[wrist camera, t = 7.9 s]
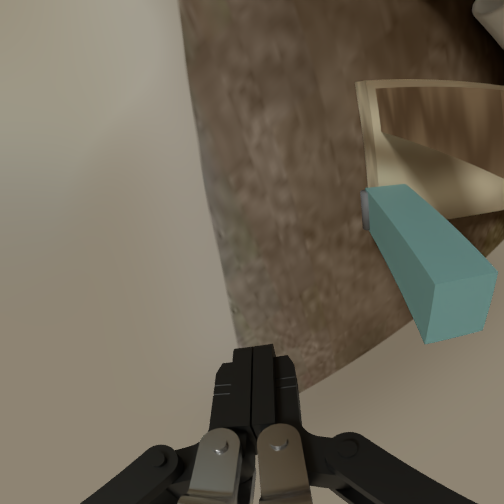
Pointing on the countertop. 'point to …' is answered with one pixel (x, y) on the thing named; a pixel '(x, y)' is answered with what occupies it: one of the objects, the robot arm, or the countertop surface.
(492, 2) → the mug
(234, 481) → the robot arm
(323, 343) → the countertop surface
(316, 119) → the countertop surface
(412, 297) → the folding leg
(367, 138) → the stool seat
